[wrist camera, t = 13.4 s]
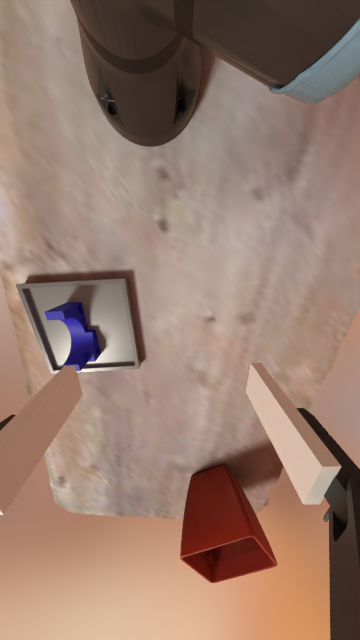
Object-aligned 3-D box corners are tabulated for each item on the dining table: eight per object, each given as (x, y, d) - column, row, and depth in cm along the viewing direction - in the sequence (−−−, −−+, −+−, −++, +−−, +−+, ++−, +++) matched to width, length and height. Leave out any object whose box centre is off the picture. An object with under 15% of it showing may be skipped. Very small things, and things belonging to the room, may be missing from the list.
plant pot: (230, 453, 53) (254, 537, 37) (251, 484, 59) (279, 566, 43) (177, 473, 56) (178, 558, 40) (202, 500, 62) (211, 583, 46)
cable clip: (101, 353, 38) (88, 370, 32) (80, 354, 38) (64, 371, 32) (89, 301, 33) (71, 310, 28) (66, 302, 33) (44, 311, 28)
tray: (24, 283, 33) (15, 284, 31) (127, 277, 33) (124, 278, 31) (56, 368, 40) (50, 373, 38) (140, 363, 40) (139, 368, 38)
